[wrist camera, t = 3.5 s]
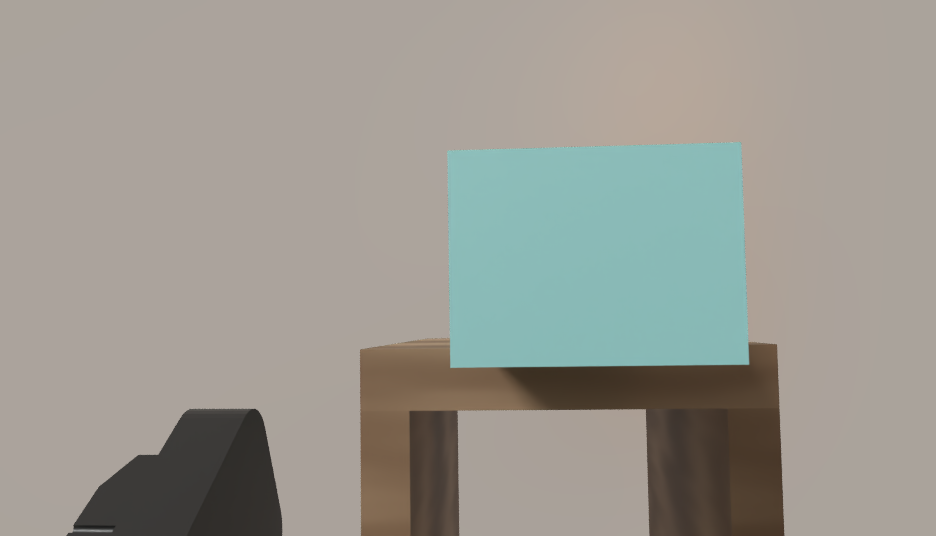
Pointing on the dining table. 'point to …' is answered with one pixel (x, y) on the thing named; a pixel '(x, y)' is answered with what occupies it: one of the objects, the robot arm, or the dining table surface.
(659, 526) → the stand
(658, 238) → the block
